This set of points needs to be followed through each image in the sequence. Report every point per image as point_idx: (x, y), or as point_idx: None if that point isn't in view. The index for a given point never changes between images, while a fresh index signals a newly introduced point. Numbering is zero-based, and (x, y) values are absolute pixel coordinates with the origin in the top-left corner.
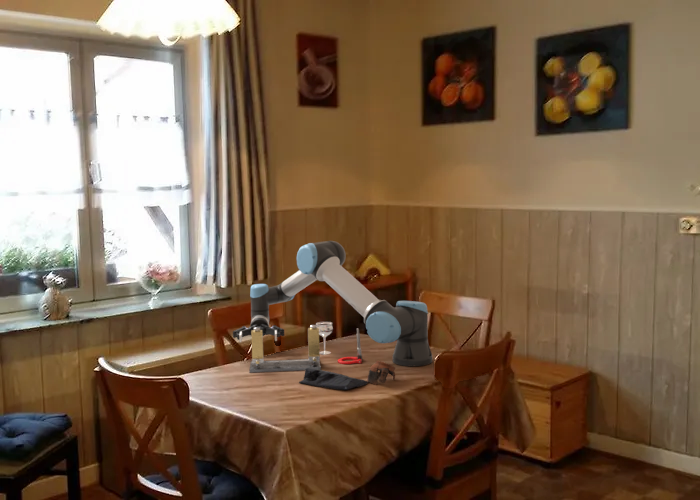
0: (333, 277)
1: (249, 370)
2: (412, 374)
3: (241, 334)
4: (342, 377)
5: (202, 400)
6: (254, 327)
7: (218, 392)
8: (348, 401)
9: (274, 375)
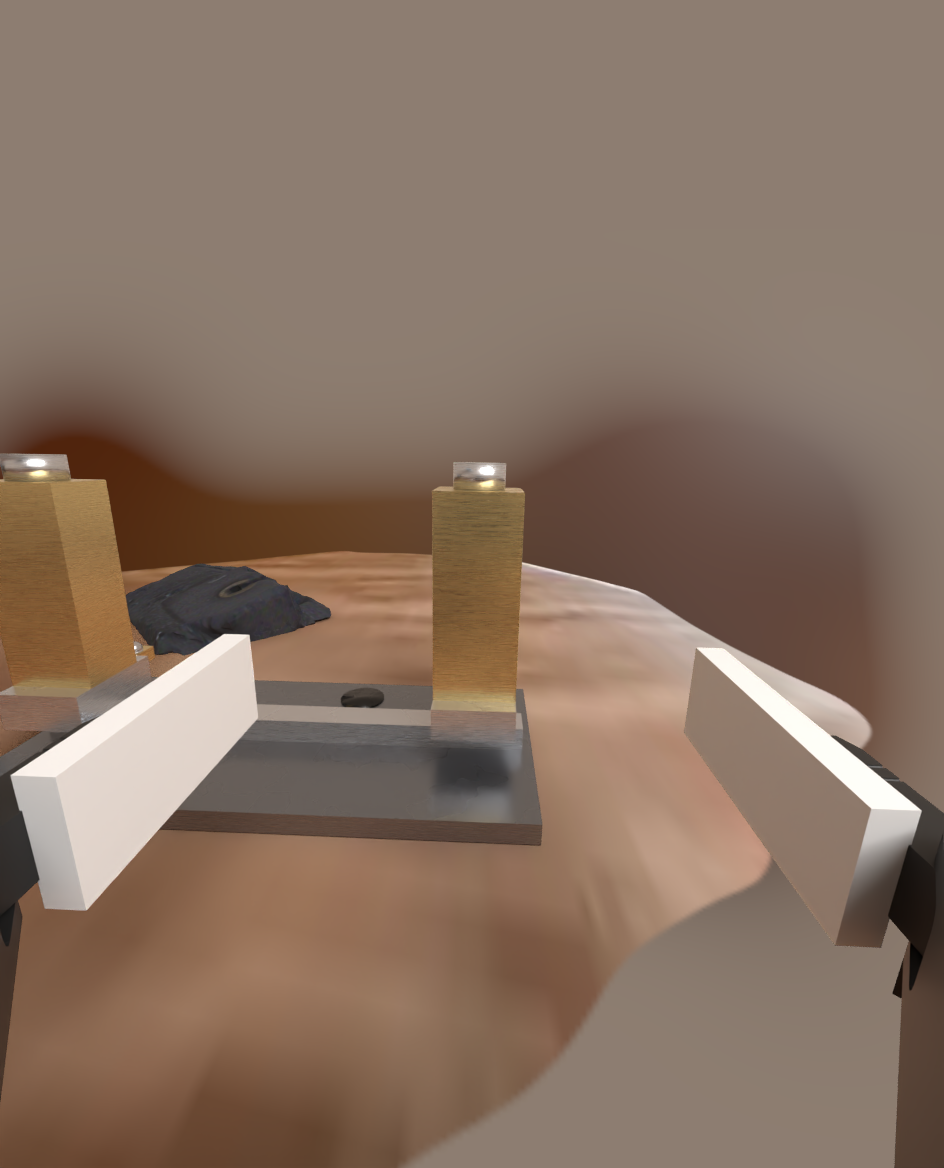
0: None
1: (522, 691)
2: None
3: (732, 689)
4: (215, 569)
5: (618, 588)
6: (499, 463)
7: (595, 606)
8: (276, 565)
9: (397, 667)
